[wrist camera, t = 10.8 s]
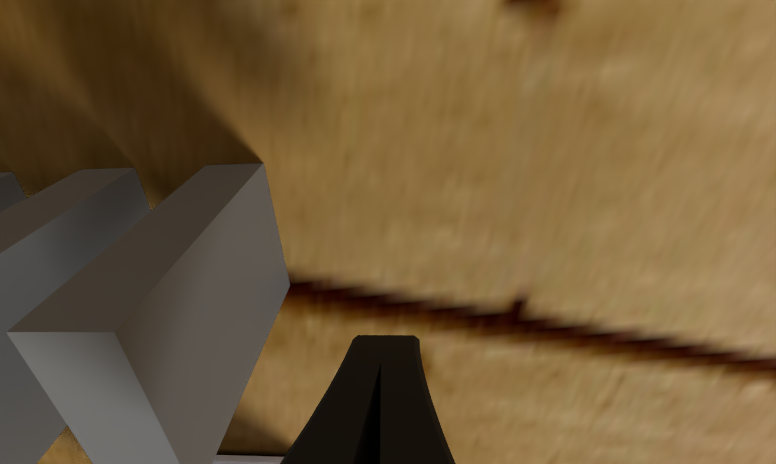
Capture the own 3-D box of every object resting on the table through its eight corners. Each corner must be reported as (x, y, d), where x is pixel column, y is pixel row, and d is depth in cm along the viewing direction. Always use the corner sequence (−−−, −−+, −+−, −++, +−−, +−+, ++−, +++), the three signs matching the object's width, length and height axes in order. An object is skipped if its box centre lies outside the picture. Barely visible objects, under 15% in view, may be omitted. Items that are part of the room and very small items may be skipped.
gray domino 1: (134, 167, 15) (-123, 332, 8) (179, 286, 17) (14, 491, 10) (80, 169, 15) (-220, 331, 8) (131, 286, 17) (-63, 488, 10)
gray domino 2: (263, 163, 14) (114, 332, 7) (289, 285, 17) (196, 498, 10) (205, 165, 14) (6, 332, 8) (240, 286, 17) (113, 495, 10)
